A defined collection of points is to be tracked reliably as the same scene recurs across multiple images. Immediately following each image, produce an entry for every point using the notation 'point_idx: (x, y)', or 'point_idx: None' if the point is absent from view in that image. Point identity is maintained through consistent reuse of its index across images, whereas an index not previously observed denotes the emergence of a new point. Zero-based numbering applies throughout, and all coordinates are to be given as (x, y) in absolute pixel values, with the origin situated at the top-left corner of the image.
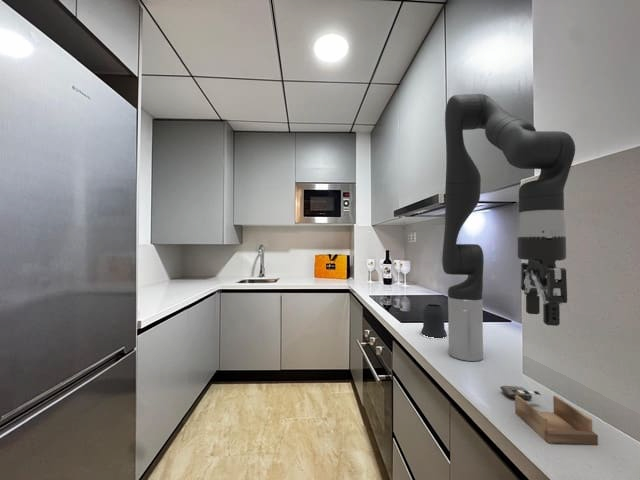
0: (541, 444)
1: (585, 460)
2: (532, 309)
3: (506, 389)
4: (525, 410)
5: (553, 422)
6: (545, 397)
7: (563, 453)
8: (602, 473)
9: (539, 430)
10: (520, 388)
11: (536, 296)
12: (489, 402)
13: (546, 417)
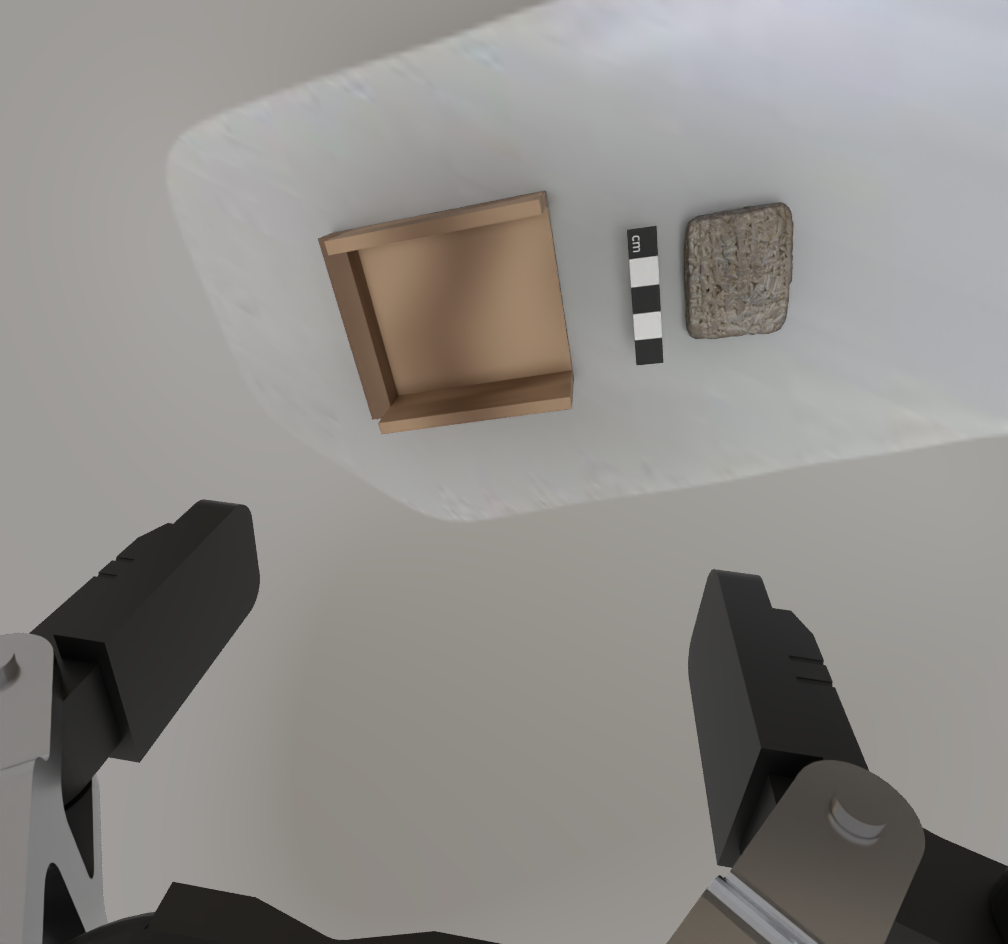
0: (318, 199)
1: (274, 312)
2: (709, 641)
3: (731, 221)
4: (459, 212)
5: (485, 326)
6: (730, 412)
7: (288, 257)
8: (224, 326)
9: (377, 225)
10: (746, 308)
11: (727, 835)
12: (642, 84)
13: (521, 317)
